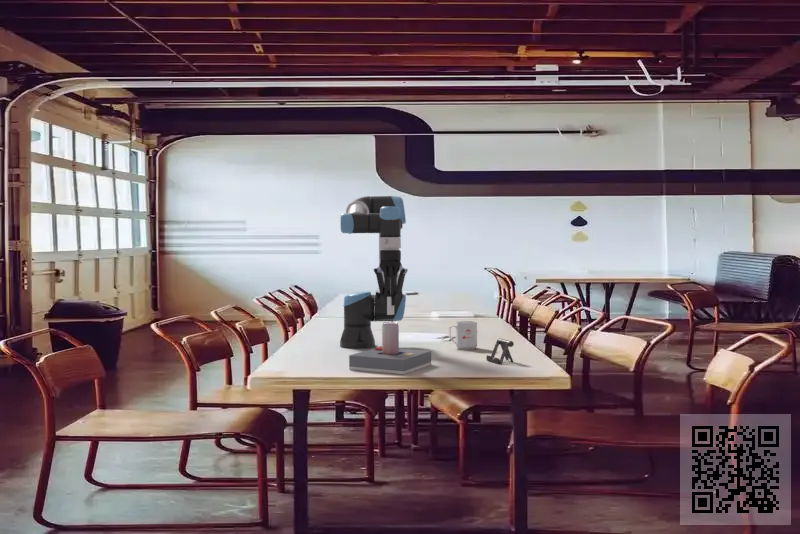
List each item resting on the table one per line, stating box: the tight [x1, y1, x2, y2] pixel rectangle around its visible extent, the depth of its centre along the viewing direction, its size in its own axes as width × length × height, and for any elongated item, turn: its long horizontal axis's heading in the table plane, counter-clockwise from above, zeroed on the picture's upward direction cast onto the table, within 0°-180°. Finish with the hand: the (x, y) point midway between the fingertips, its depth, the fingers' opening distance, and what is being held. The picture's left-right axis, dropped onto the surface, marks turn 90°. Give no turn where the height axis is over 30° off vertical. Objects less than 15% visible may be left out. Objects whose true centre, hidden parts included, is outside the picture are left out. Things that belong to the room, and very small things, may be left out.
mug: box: [448, 320, 478, 351], centre depth 317 cm, size 12×9×11 cm
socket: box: [348, 345, 432, 375], centre depth 273 cm, size 22×22×6 cm
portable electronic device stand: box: [486, 338, 515, 365], centre depth 283 cm, size 9×8×8 cm
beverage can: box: [381, 321, 400, 356], centre depth 272 cm, size 6×6×15 cm
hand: (390, 314), depth 272 cm, fingers closed
